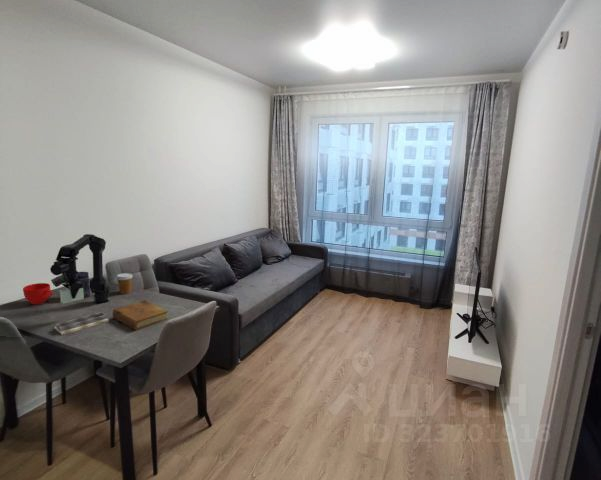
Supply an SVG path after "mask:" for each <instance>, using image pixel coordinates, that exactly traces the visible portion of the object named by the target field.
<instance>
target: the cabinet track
mask: <svg viewBox="0 0 601 480" xmlns="http://www.w3.org/2000/svg"><path fill="white" fill-rule="evenodd" d="M107 322H109V318H108V315H107V314H106V313H104V312H103V311H99V312H96V313H93V314H89V315H84V316H80V317H78V318H74V319H70V320H66V321H63V322H60V323H59V322H58V323H56V324H55V326H54V329H55V330H56V331H57V332H58V333H59V334H61V336H63V334H64V335H67V334H71V333H73V332H76V331H81V330H84V329H87V328H91V327H93V326H97V325H101V324H103V323H107Z"/></svg>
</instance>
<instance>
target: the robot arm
mask: <svg viewBox="0 0 601 480" xmlns="http://www.w3.org/2000/svg"><path fill="white" fill-rule="evenodd" d="M106 244H107V242H106V240H105V239H104V238H102V237H99V236H97V235H94V234H91V233H89V234H88V233H85V234H83V236H82V237H80V238H79V239H77V240H76V241H74V242H73V243H71V244H66V245H65V244H64V245H63V246H61V247H60V248H59V250H58V253H57V255H56V258H55V261H53V264H52V265H51V266H50V267H49V269H50V272H51V273H52V275H54V276H56V277H53V278H52V279H50V281H51V283H52V285H53V287H56V288H57V287H60V286H61V285H62V286H63V287H65V288H67V289H69V290H70V292H71V296H72V299H74V298H75V297H76V295H77V292H78V290H79V289H80V288H84V284H83V283H81V282H80V281H79V279H78V278H77V273H78V272H79V271H78V269H77V261H78V260H79V258H78V257H77V256H78V255H79V254H80V250H82V249H84V247H86V246H88V249H89V250H90V252H91V253H92V273H93V274H92V276H93V277H92V278H91V279H89V287H90V293H92V294H93V302H94V303H96V304H97V305H100V304H103V303H104V304H105V303H109V302H110V300H109V298H108V297H109V296H108V293H110V290H111V287H110V286H109V285H108V284H107V281H106V278H105V277H104V275H103V273H104V271H103V269H104V268H103V267H104V266H103V253H104V251H105V249H106ZM76 281H78V282H76Z"/></svg>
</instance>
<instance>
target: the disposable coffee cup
mask: <svg viewBox="0 0 601 480" xmlns="http://www.w3.org/2000/svg"><path fill="white" fill-rule="evenodd" d="M133 277H134V276H133V274H132V273H130V272H123V273H119V274H117V275H116V280H117V283H118V288H119V289H118V290H119V293H120V294H122V295H124V294H130V293H131V291H132V282H133V281H132V280H133Z"/></svg>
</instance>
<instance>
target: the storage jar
mask: <svg viewBox="0 0 601 480" xmlns="http://www.w3.org/2000/svg"><path fill="white" fill-rule="evenodd" d="M77 278H78V279H79V281H80V282H81V283H83V284H84V288H83V293H84V299H87V298H90V297H91V289H90V276H89V272H88V271H78V273H77ZM76 282H78V281H76ZM84 299H83V300H84Z"/></svg>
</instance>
